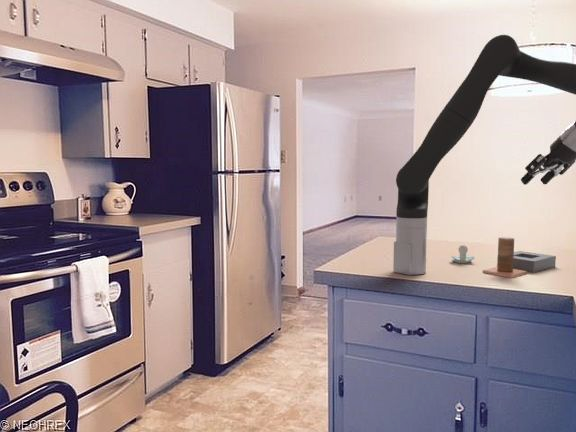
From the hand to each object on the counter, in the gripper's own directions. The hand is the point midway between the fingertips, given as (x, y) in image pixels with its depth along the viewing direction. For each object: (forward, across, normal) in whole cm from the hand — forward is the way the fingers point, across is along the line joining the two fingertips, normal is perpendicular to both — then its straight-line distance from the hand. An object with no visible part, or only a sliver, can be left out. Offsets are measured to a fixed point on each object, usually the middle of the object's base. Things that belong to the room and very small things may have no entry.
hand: (533, 182), depth 145 cm
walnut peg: (+22, +4, +16) cm, 28 cm away
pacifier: (+36, +2, +4) cm, 37 cm away
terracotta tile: (+23, +4, +17) cm, 29 cm away
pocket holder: (+26, -10, +14) cm, 31 cm away
